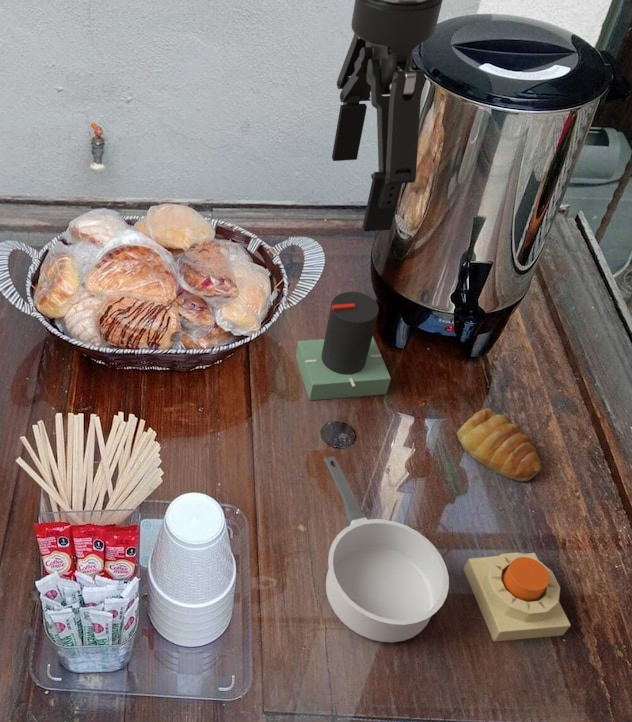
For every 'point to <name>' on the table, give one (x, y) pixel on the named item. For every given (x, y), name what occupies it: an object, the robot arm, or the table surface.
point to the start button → (526, 578)
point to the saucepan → (382, 573)
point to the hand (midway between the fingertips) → (359, 192)
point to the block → (514, 601)
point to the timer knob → (349, 332)
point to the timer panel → (338, 385)
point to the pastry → (499, 445)
